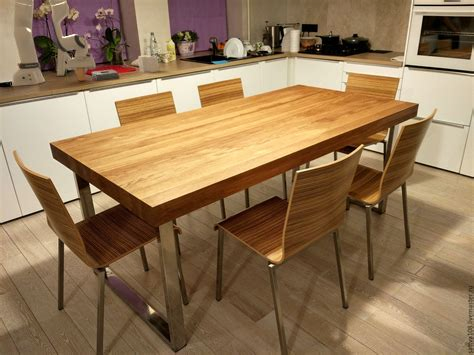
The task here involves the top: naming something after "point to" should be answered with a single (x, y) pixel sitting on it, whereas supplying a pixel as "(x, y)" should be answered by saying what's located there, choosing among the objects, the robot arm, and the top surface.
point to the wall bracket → (62, 62)
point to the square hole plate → (105, 74)
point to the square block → (80, 74)
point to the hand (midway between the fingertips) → (80, 73)
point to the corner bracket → (148, 64)
